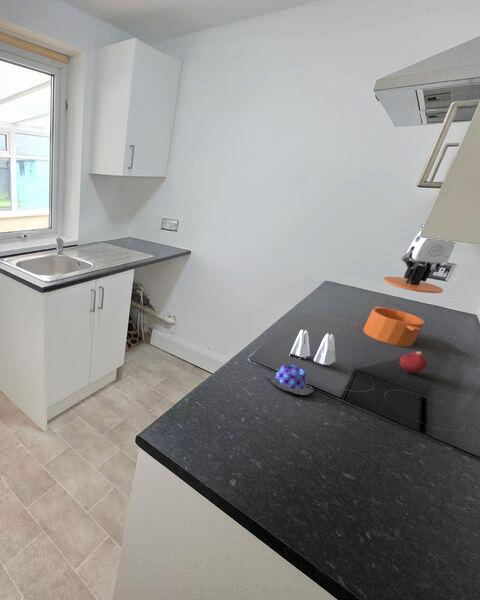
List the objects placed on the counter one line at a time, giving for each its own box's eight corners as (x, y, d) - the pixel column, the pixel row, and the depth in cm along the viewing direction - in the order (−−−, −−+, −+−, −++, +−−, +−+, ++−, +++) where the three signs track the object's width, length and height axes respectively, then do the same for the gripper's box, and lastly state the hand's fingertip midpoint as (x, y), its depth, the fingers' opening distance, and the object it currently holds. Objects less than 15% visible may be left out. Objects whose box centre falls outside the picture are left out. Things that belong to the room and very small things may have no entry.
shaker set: (333, 365, 102) (346, 336, 98) (332, 371, 99) (345, 341, 95) (291, 351, 109) (301, 323, 105) (289, 355, 106) (299, 327, 102)
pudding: (314, 404, 84) (320, 388, 82) (264, 386, 90) (269, 371, 88) (312, 381, 93) (318, 366, 91) (267, 367, 99) (272, 353, 97)
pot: (389, 327, 131) (400, 307, 127) (428, 352, 113) (442, 330, 109) (351, 323, 133) (360, 303, 130) (383, 347, 115) (395, 324, 112)
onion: (400, 375, 99) (412, 353, 96) (391, 365, 104) (402, 345, 101) (423, 380, 97) (436, 358, 94) (413, 370, 102) (425, 349, 99)
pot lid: (418, 282, 120) (428, 261, 116) (454, 297, 105) (467, 274, 102) (372, 277, 122) (381, 257, 119) (402, 291, 108) (413, 269, 105)
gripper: (420, 228, 103) (395, 280, 111) (479, 232, 101) (450, 285, 108) (403, 225, 110) (381, 274, 117) (458, 228, 108) (432, 278, 115)
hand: (414, 279), depth 113 cm, fingers closed on pot lid, 3 cm apart
